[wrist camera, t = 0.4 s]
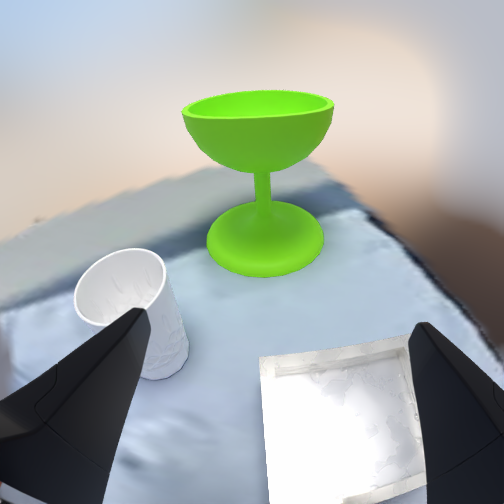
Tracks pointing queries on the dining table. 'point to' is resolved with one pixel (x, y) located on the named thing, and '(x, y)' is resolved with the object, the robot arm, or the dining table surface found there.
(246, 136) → the wineglass
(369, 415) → the tray
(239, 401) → the dining table surface
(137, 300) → the white cup
